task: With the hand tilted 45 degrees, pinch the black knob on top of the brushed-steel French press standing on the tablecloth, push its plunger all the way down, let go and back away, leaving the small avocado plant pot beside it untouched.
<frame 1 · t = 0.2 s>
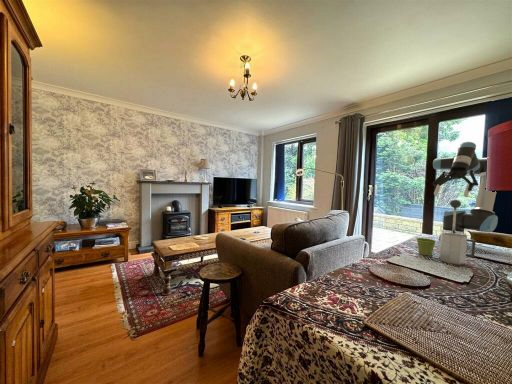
hand: (449, 195, 122), 36 cm above the table, tool tilted 35°, fingers open, 13 cm apart
plunger: (454, 219, 117), point 23 cm above the table, slide at 8.0 cm
press carafe: (451, 261, 119), on the table
plant pot: (425, 254, 130), on the table
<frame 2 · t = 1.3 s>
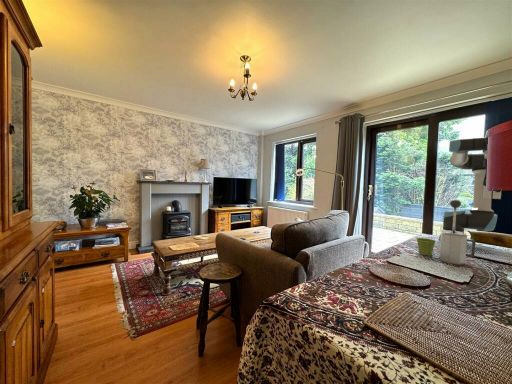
hand: (491, 198, 116), 35 cm above the table, tool pointing down, fingers open, 13 cm apart
nothing on the table moved.
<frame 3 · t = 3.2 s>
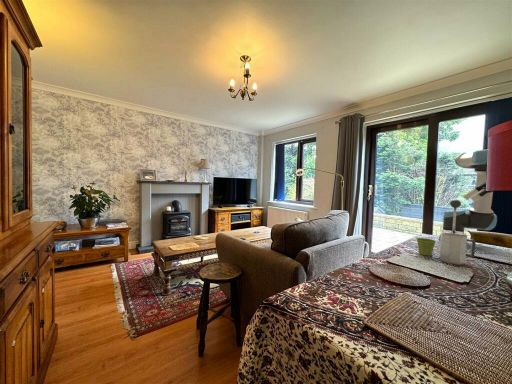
hand: (468, 199, 114), 34 cm above the table, tool tilted 45°, fingers open, 13 cm apart
nothing on the table moved.
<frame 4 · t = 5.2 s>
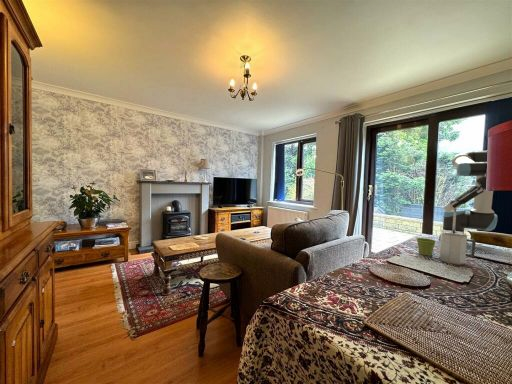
hand: (445, 210, 119), 28 cm above the table, tool tilted 45°, fingers closed on plunger, 4 cm apart
plunger: (454, 219, 117), point 23 cm above the table, slide at 8.0 cm, touching gripper
everything else where it was.
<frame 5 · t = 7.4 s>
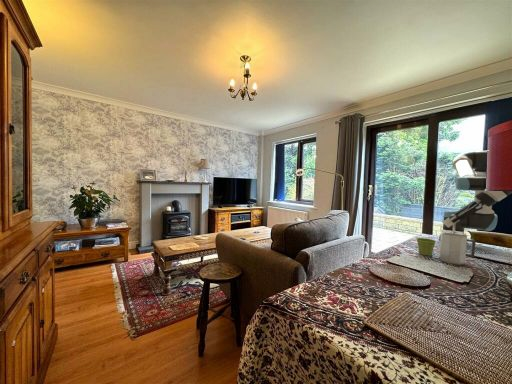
hand: (444, 224, 120), 20 cm above the table, tool tilted 45°, fingers closed on plunger, 4 cm apart
plunger: (453, 233, 118), point 15 cm above the table, slide at -0.1 cm, touching gripper
everything else where it was.
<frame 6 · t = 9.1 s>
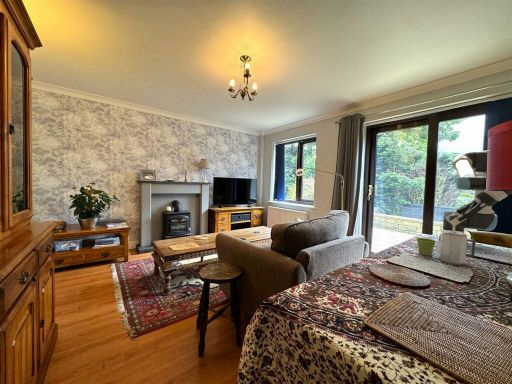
hand: (449, 222, 119), 21 cm above the table, tool tilted 45°, fingers open, 13 cm apart
plunger: (453, 233, 118), point 15 cm above the table, slide at -0.1 cm
everything else where it was.
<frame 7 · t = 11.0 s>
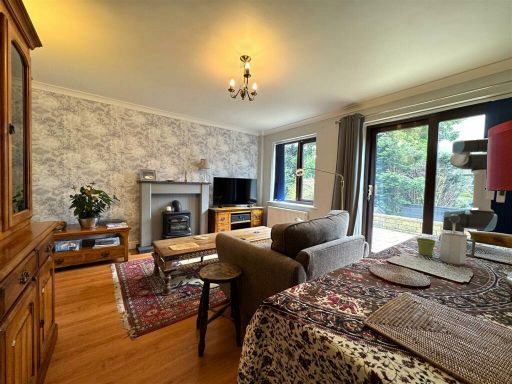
hand: (494, 200, 117), 33 cm above the table, tool pointing down, fingers open, 13 cm apart
nothing on the table moved.
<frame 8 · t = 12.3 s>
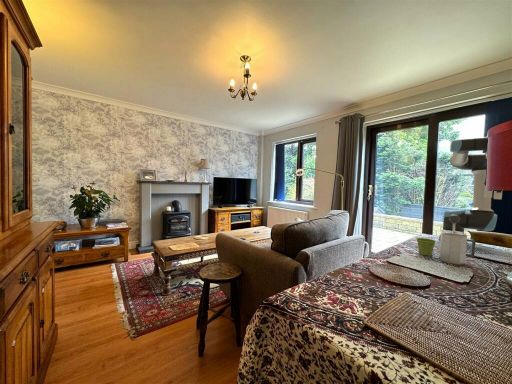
hand: (492, 198, 118), 35 cm above the table, tool pointing down, fingers open, 13 cm apart
nothing on the table moved.
at the end: plunger slide at -0.1 cm; the gripper is holding nothing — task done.
